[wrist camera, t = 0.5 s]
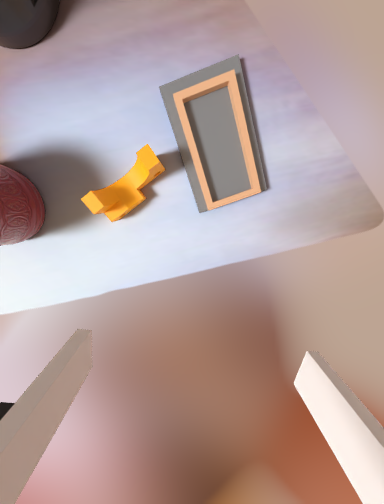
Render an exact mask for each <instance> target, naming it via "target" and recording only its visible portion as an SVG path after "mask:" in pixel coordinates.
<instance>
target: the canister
mask: <svg viewBox="0 0 384 504" xmlns="http://www.w3.org/2000/svg"><path fill="white" fill-rule="evenodd" d="M44 218H45V208H44V203H43V200H42V197H41V195H40V193H39V192H38V190H37V188H36V187H35V186H34V185H33V183H32V182H31V181H30V180H29V179H28V178H26V177H25V176H24V175H22V174H21V173H19V172H17V171H16V170H13V169H11V168H8V167H6V166H4V165H1V164H0V246H2V245H9V244H15V243H19V242H22V241H25V240H27V239H28V238H31V237H32V236H34V235H35V234H36V233H38V231H39V230H40V229H41V227H42V225H43V223H44Z"/></svg>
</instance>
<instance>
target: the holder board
mask: <svg viewBox="0 0 384 504" xmlns="http://www.w3.org/2000/svg"><path fill="white" fill-rule="evenodd" d="M159 88H160V92H161V95H162V98H163V101H164V104H165V107H166V110H167V114H168V117H169V120H170V123H171V126H172V129H173V132H174V135H175V138H176V141H177V145H178V148H179V151H180V154H181V157H182V160H183V163H184V166H185V169H186V172H187V176H188V179H189V182H190V185H191V188H192V191H193V194H194V197H195V200H196V203H197V206H198V210H199V213H201V212H204V211H207V210H212V209H214V208H217V207H220V206H223V205H226V204H229V203H232V202H234V201H237V200H240V199H243V198H246V197H249V196H252V195H254V194H257V193H260V192H261V191H264V190H267V187H266V182H265V178H264V173H263V168H262V163H261V159H260V154H259V149H258V144H257V140H256V135H255V130H254V125H253V120H252V116H251V111H250V106H249V101H248V97H247V92H246V87H245V82H244V78H243V73H242V68H241V63H240V59H239V54H238V55H236V56H233V57H231V58H228V59H226V60H224V61H221V62H219V63H216V64H214V65H211V66H209V67H206V68H204V69H202V70H199V71H197V72H194V73H192V74H189V75H187V76H184V77H182V78H180V79H177V80H175V81H172V82H170V83H167V84H165V85H162V86H160V87H159Z"/></svg>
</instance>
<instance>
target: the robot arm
mask: <svg viewBox="0 0 384 504" xmlns="http://www.w3.org/2000/svg"><path fill="white" fill-rule="evenodd" d="M58 7H59V0H0V46H3V47H7V48H24V47H28V46H31V45H33V44H35V43H37V42H38V41H40V40H41V39H42V38H43V37H44V36H45V35H46V34H47V33H48V31H49V30H50V28H51V27H52V25H53V23H54V20H55V18H56V15H57V11H58ZM91 368H92V332H91V330H84V329H77V331H76V332H75V333H74V334H73V335H72V336H71V338H70V339H69V340H68V341H67V342H66V344H65V345H64V346H63V347H62V349H61V350H60V351H59V352H58V353H57V354H56V355H55V357H54V358H53V359H52V360H51V361H50V362H49V364H48V365H47V366H46V367H45V368H44V370H43V371H42V372H41V373H40V374H39V375H38V377H37V378H36V379H35V380H34V381H33V383H32V384H31V385H30V386H29V387H28V388H27V390H26V391H25V392H24V393H23V395H22V396H21V397H20V398H19V399H18V400H17V402H16V403H4V402H1V403H0V504H15V503H16V501H17V499H18V497H19V495H20V494H21V492H22V490H23V488H24V487H25V485H26V483H27V481H28V480H29V478H30V476H31V474H32V473H33V471H34V469H35V467H36V465H37V464H38V462H39V460H40V458H41V457H42V455H43V453H44V451H45V450H46V448H47V446H48V444H49V443H50V441H51V439H52V437H53V435H54V434H55V432H56V430H57V428H58V427H59V425H60V423H61V421H62V420H63V418H64V416H65V414H66V413H67V411H68V409H69V407H70V406H71V404H72V402H73V400H74V398H75V397H76V395H77V393H78V391H79V390H80V388H81V386H82V384H83V383H84V381H85V379H86V377H87V376H88V374H89V372H90V370H91ZM294 385H295V387H296V388H297V390H298V392H299V394H300V395H301V397H302V399H303V400H304V402H305V404H306V405H307V407H308V409H309V410H310V412H311V414H312V416H313V417H314V420H315V421H316V423H317V425H318V427H319V428H320V430H321V432H322V433H323V435H324V437H325V438H326V440H327V442H328V443H329V445H330V447H331V449H332V451H333V453H334V454H335V456H336V457H337V459H338V461H339V463H340V464H341V466H342V468H343V470H344V471H345V473H346V475H347V477H348V478H349V480H350V482H351V484H352V485H353V487H354V488H355V490H356V492H357V494H358V496H359V497H360V499H361V501H362V503H363V504H384V428H383V427H382V425H381V424H380V423H379V422H378V421H377V419H376V418H375V417H374V416H373V415H372V414H371V413H370V411H369V410H368V409H367V408H366V407H365V406H364V404H363V403H362V402H361V401H360V400H359V398H358V397H357V396H356V395H355V394H354V393H353V392H352V390H351V389H350V388H349V387H348V386H347V385H346V383H345V382H344V381H343V380H342V379H341V378H340V376H339V375H338V374H337V373H336V372H335V371H334V369H333V368H332V367H331V366H330V365H329V364H328V362H327V361H326V360H325V359H324V358H323V357H322V355H321V354H320V353H319V352H314V351H307V352H306V354H305V357H304V359H303V362H302V364H301V367H300V369H299V371H298V374H297V376H296V379H295V381H294Z"/></svg>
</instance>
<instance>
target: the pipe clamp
mask: <svg viewBox="0 0 384 504" xmlns="http://www.w3.org/2000/svg"><path fill="white" fill-rule="evenodd" d="M136 154H137V161H136V163H135V165H134V166H133V167H132V169H131V170H130V171H129V172H128V173H127V174H126V175H125V176H123V177H122V178H121V179H120V180H118V181H117V182H115V183H113V184H112V185H110V186H108V187H105V188H103V189H100V190H95V191H90V192H89V193H87V194H86V195H85V196H84V197H83V198H81V200H82V201H83V202H84V204H85V205H86V206H87V207H88V208H89V209H90V211H91V212H92V213H93V214H101V213H105V215H106V216H107V217H108V218H109V219H110V221H111V222H113V221H117V220H119V219H121V218H122V217H123V216H125V215H126V214H127V213H128V212H130V211H131V210H132V209H134V208H135V207H136V206H137V205H139V204H140V203H141V202H143V201H144V200H145V199H147V198H146V197H145V196H144V194H143V193H142V192H141V190H140V189H142V188H143V187H144V186H146V185H147V184H148V183H149V182H151V181H152V180H153V179H154V178H156V177H157V176H158V175H159V174H161V173H162V172H163V171H165V168H164V167H163V165H162V164H161V162H160V161H159V159H158V158H157V157H156V155H155V154H154V152H153V151H152V149H151V148H150V147H149V145H148V144H146V145H145V146H144V147H143V148H142V149H140V150H139V151H138V152H137V153H136Z"/></svg>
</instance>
